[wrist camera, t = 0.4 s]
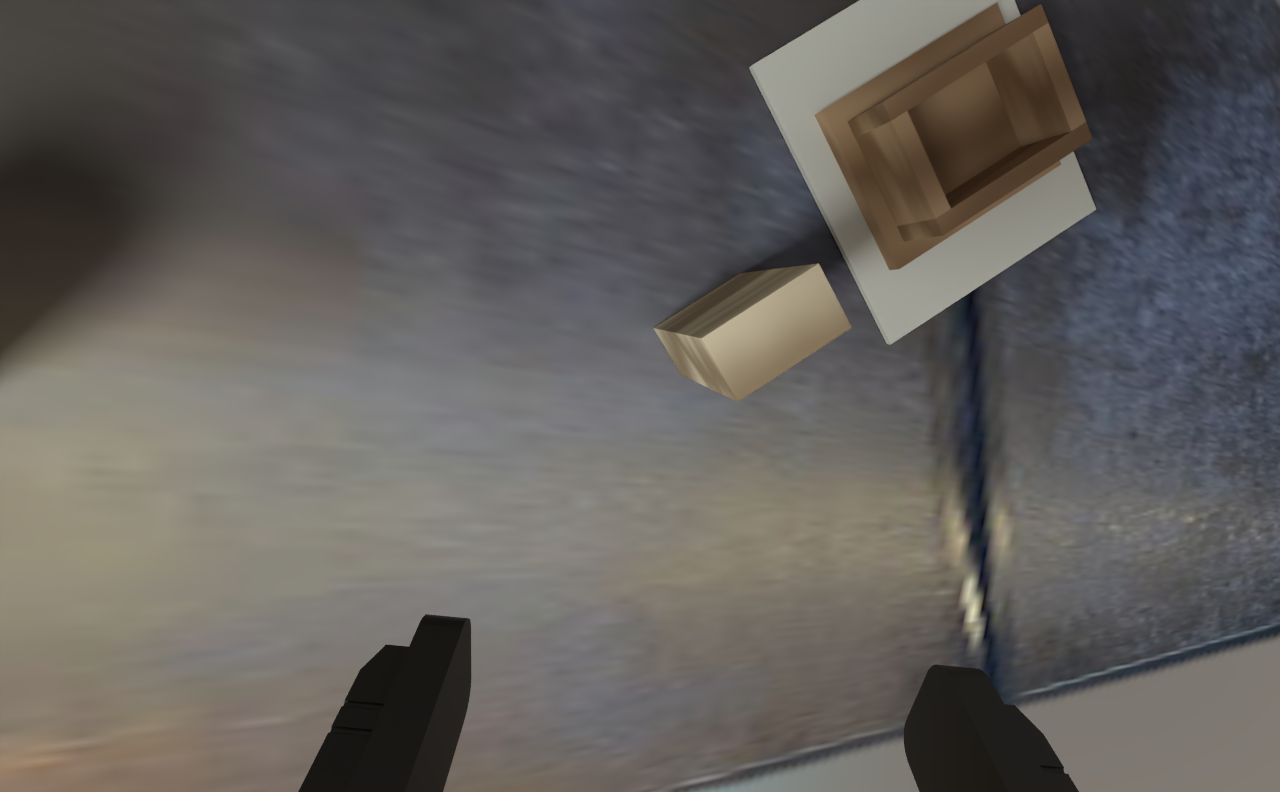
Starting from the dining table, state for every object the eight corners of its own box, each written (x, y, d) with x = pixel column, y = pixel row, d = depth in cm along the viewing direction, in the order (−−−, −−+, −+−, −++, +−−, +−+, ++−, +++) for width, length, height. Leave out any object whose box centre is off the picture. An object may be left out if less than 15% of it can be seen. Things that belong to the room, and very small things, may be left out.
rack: (814, 115, 35) (855, 88, 31) (984, 10, 36) (1047, -30, 32) (889, 270, 37) (937, 266, 33) (1047, 167, 38) (1115, 150, 34)
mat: (749, 68, 35) (751, 65, 34) (979, -72, 36) (985, -76, 35) (886, 344, 39) (890, 344, 38) (1090, 210, 40) (1096, 209, 39)
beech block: (653, 328, 36) (701, 338, 26) (739, 273, 36) (818, 263, 27) (681, 374, 37) (737, 401, 27) (765, 320, 37) (851, 327, 27)
